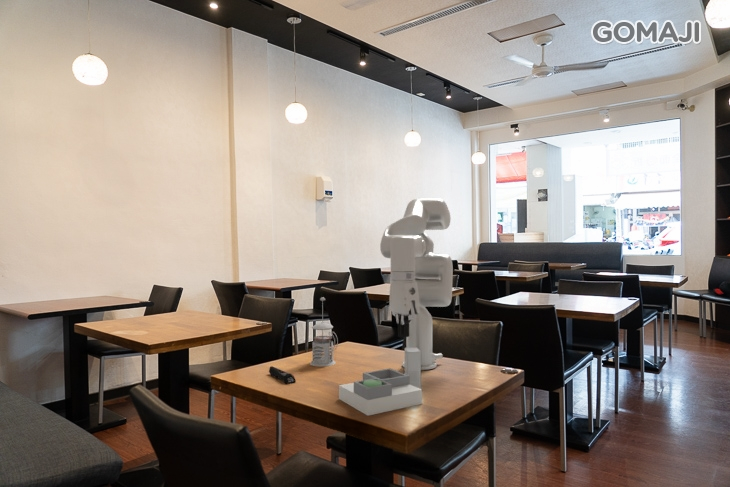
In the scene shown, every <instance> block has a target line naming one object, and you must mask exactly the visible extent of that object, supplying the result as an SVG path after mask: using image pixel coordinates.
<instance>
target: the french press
mask: <svg viewBox="0 0 730 487" xmlns="http://www.w3.org/2000/svg"><path fill="white" fill-rule="evenodd" d="M319 301H321V302H322V303H321V304H322V305H321V307H322V308H321V310H322V315H321V317H322V320H321V321H322V322H319V323H318V322H317V323H315V325H313V326H312V327H311V329H312V330H314V331H315V330H317V331H322V335H317V336H313V341H312V342H311V344H312V354H311V355H312V356H311V357H312V358H311V359H312V360H311V361H310V363H309V365H310V366H314V367H331V366H334V365H336V362H337V361H335V360H334V351H335V350H336V349H338V346H339V345H338V344H339V339H338V336H337V334H336V333H335V331H331V332H330V331H329V332H328V335H324V331H328V330H332V329H333V328H334V326H333V325H332V324H331V323H328V322H324V301H326V298H325V297H324V296H323V297H322V296H321V297H320V298H319ZM333 334H334V335H335V336H334V335H333ZM332 339H333V340H334V341H333V340H332ZM336 341H337V343H336ZM335 346H336V347H335Z"/></svg>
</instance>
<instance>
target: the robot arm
mask: <svg viewBox="0 0 730 487" xmlns="http://www.w3.org/2000/svg"><path fill="white" fill-rule="evenodd" d="M450 225H451V213H450V210H449V207H448V205H447V203H446V202H445V201H444V200H443V199H442V198H436V197H435V198H433V197H432V198H415V199H411V201H409V202H408V203H407V205H406V208H405V211H404V214H403V217H402V218H400V219H398V220H396V221H394V222H393V223H391V224H390V225H388V226H387V227H386V228H385V230H384V232H383V234H382V237H381V240H380V253H381V255H382V256H383V257H384V258H386V259H390V287H389V298H388V300H389V303H388V304H389V310H390V311H391V314H392V316H394V318H395V319H396V320H395V321H396V324H397V337H399V338H401V339H402V338H406V342H405V344H406V348H415V347H416V348H418V349H419V351H420V358H421V371H427V370H433V369H436V368H437V367H438V364H437V362H436V360H441V359H442V358H443V356H444V355H443V354H442V352H439V353H436V352H435V353H434V352H433V316H432V315H431V313H430V312H429V311H428V309H427V308H426V307H428V308H429V307H432V308H433V307H437V308H439V307H440V308H441V307H442V308H443V307H445V308H446V307H448V306H450V305H451V303H452V298H453V274H454V273H453V272H454V268H453V260H452V257H451V256H450V255H448V254H446V253H434V248H435V246H434V245H435V244H434V241H433V240H432V238H431V237H430V236H429V235H428V234H427V233H426V232H425V231H437V230H438V231H439V230H440V231H441V230H442V231H444V230H447V229H448V228H449V227H450ZM401 365H402V367H403V368H405V360H403V361H402V362H401Z"/></svg>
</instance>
